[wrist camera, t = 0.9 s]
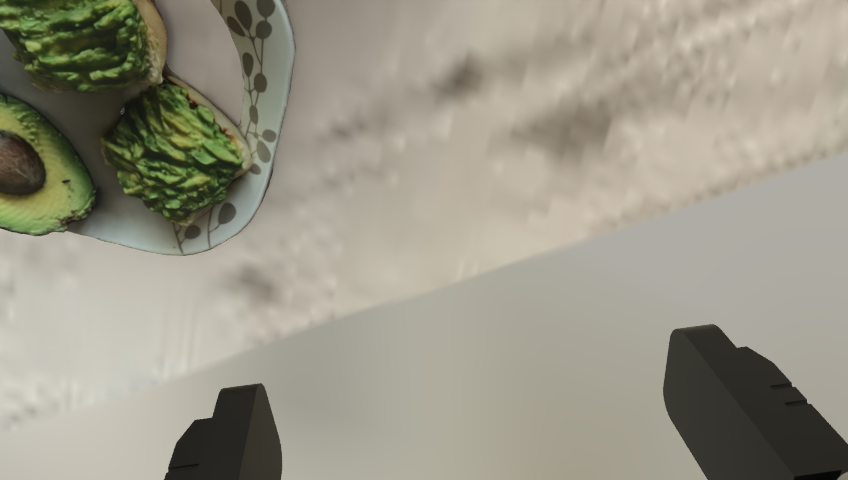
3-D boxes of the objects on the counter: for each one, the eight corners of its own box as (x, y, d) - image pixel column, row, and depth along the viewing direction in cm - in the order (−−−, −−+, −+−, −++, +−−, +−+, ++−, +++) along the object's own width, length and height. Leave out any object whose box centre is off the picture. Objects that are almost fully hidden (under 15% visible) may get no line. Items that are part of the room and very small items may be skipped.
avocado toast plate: (-144, -320, 21) (-264, -360, 17) (353, -101, 25) (349, -94, 21) (-116, 164, 30) (-189, 210, 26) (246, 263, 35) (229, 314, 31)
